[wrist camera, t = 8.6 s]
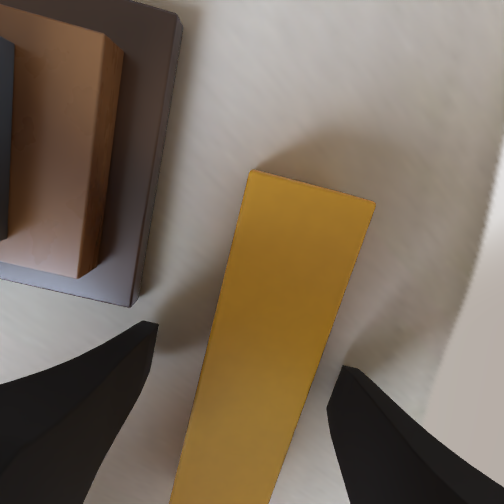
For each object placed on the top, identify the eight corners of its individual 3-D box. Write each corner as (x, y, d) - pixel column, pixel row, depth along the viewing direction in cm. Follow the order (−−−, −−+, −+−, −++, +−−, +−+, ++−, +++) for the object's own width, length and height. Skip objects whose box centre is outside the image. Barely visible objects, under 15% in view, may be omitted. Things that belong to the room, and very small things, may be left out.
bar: (243, 495, 14) (241, 581, 11) (174, 482, 14) (153, 566, 11) (343, 192, 10) (378, 203, 7) (250, 168, 10) (249, 169, 7)
